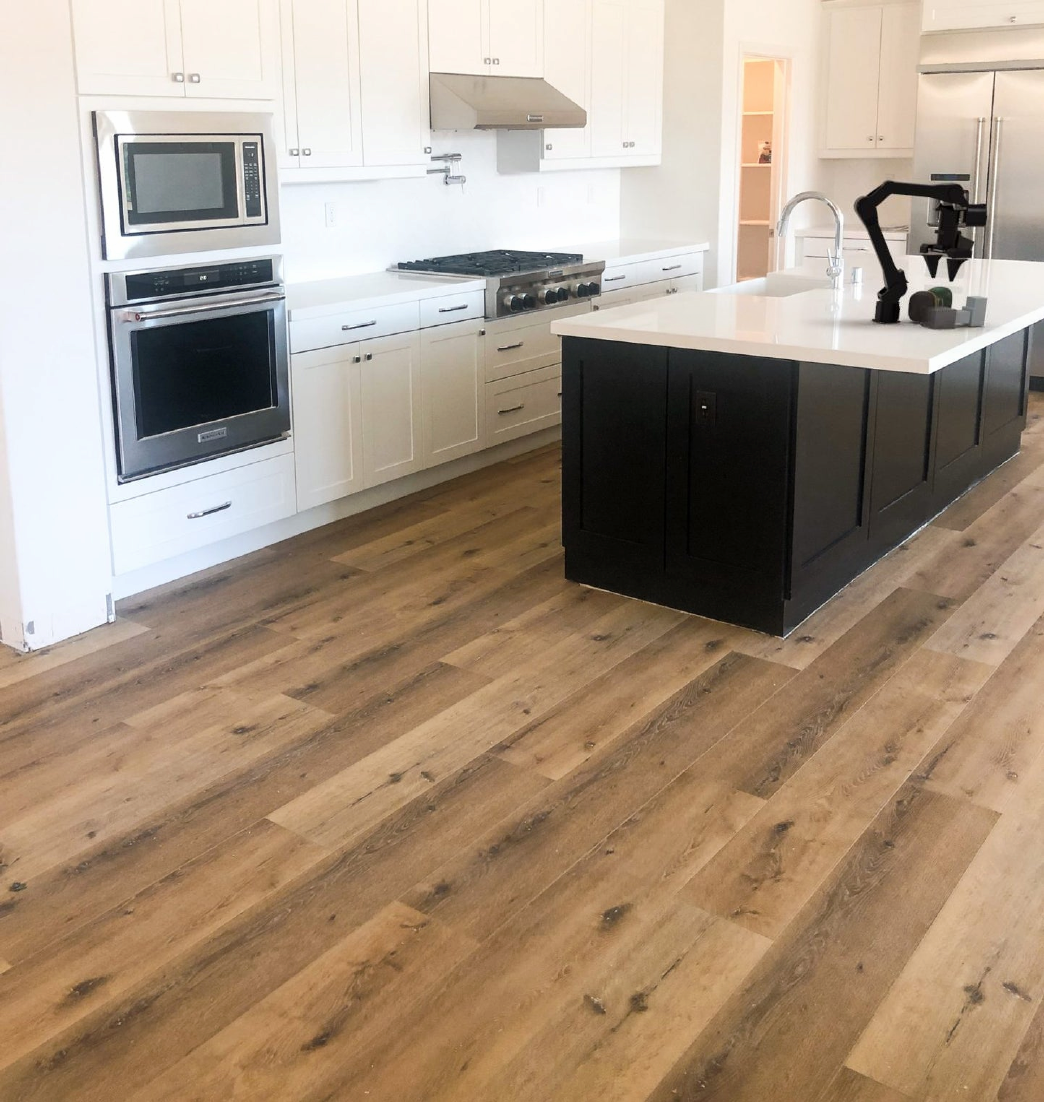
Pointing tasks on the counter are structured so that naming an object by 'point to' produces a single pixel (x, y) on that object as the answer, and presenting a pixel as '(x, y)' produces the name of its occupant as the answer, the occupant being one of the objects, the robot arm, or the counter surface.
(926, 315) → the housing
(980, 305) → the end cover
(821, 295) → the counter surface
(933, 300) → the coffee jar
